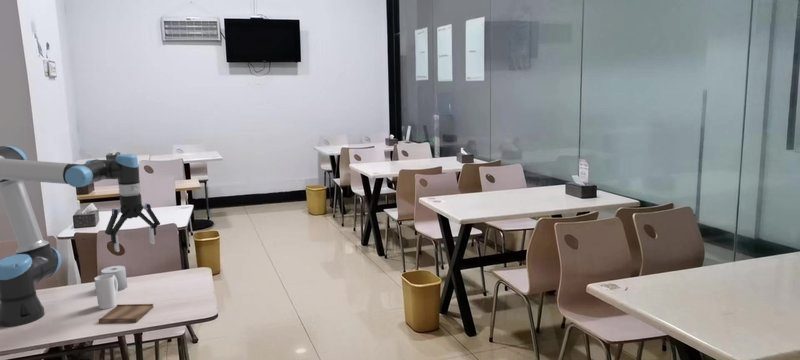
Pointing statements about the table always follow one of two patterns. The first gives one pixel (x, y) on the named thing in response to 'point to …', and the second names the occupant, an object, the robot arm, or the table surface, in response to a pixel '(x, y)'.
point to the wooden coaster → (126, 313)
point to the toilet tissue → (117, 275)
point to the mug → (106, 290)
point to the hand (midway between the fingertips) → (135, 247)
